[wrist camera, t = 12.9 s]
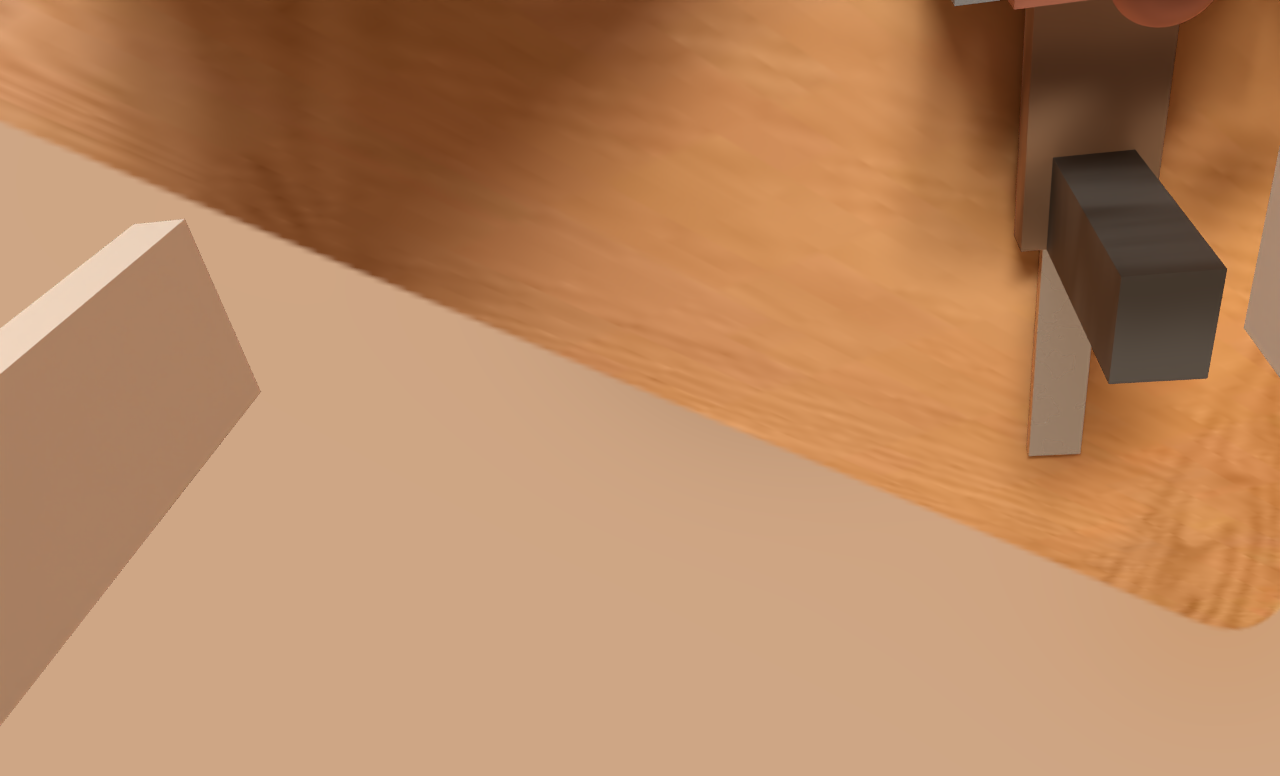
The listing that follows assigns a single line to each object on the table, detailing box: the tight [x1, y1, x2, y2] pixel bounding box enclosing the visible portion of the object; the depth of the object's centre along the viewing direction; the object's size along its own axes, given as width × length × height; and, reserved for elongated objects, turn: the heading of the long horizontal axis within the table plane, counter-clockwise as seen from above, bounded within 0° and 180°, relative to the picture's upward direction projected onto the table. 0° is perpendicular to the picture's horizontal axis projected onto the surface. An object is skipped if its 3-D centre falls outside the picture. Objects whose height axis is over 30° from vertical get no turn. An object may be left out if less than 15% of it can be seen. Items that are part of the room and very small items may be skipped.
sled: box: [1008, 0, 1227, 384], centre depth 34 cm, size 14×8×12 cm, turn 9°
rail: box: [1027, 250, 1091, 456], centre depth 45 cm, size 2×17×1 cm, turn 9°
